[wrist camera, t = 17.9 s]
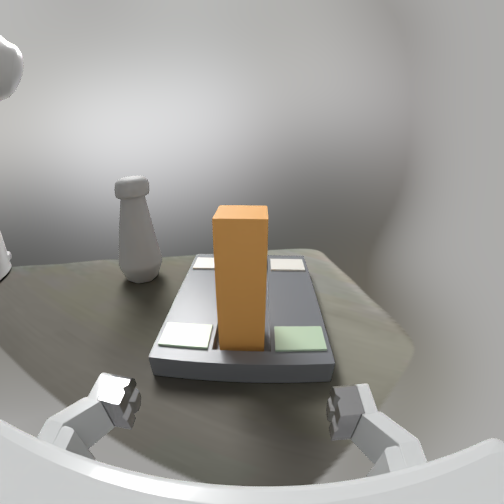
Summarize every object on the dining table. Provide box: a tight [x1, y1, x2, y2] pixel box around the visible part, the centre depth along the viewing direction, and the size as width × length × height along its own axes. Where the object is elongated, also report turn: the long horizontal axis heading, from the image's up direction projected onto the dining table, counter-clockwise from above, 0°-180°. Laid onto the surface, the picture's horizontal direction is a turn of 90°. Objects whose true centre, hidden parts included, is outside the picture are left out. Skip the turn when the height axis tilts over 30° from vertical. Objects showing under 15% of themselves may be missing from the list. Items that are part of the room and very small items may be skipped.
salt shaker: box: [115, 176, 162, 284], centre depth 35 cm, size 6×6×13 cm
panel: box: [149, 254, 335, 383], centre depth 30 cm, size 14×20×2 cm
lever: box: [212, 205, 268, 351], centre depth 22 cm, size 4×4×11 cm
